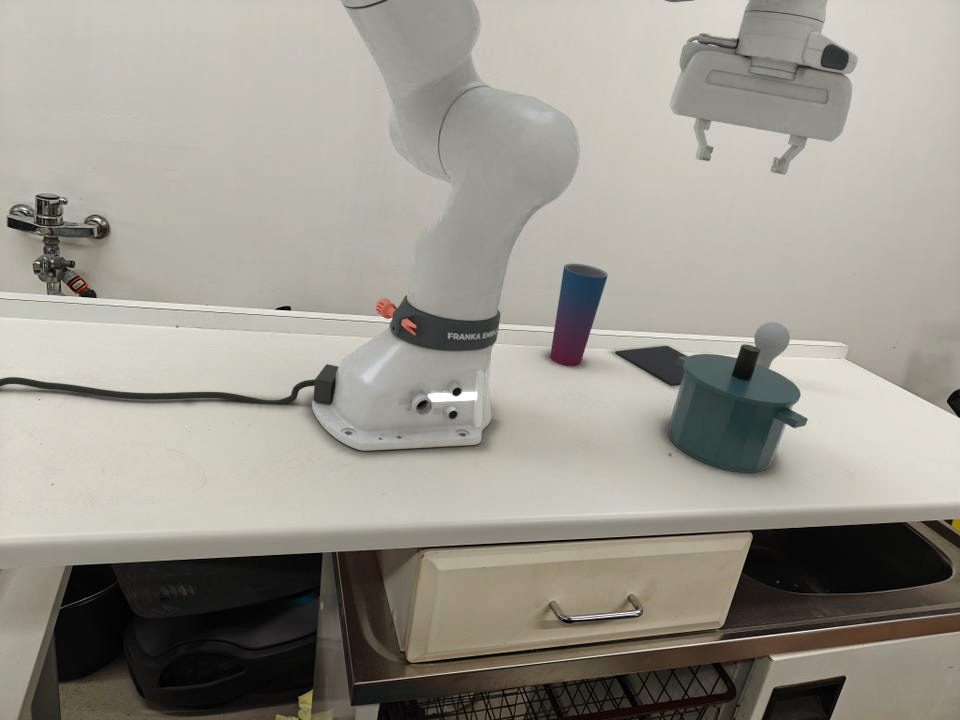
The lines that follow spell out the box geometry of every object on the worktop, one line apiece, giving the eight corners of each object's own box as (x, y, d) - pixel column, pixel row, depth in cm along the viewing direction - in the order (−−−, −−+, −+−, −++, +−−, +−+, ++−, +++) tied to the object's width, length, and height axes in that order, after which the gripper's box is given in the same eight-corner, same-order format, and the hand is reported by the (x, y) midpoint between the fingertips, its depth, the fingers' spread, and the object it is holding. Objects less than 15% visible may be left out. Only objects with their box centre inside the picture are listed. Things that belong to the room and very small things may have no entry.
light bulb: (781, 383, 123) (801, 328, 119) (761, 385, 120) (780, 329, 116) (756, 369, 127) (774, 316, 123) (735, 372, 124) (753, 317, 120)
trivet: (670, 385, 113) (671, 383, 113) (614, 353, 123) (615, 350, 123) (723, 377, 120) (724, 375, 120) (666, 347, 130) (667, 345, 130)
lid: (750, 418, 83) (764, 377, 81) (658, 366, 94) (669, 329, 92) (820, 403, 91) (835, 366, 89) (729, 357, 102) (740, 323, 100)
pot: (744, 492, 85) (770, 422, 82) (633, 418, 99) (650, 355, 96) (810, 473, 93) (836, 407, 89) (697, 407, 107) (716, 348, 103)
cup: (584, 371, 112) (607, 280, 107) (542, 362, 113) (562, 270, 108) (587, 357, 119) (608, 269, 113) (547, 347, 119) (566, 260, 114)
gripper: (692, 28, 81) (661, 154, 86) (872, 60, 81) (830, 184, 86) (681, 31, 86) (652, 149, 92) (849, 61, 86) (811, 177, 92)
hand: (739, 166), depth 89 cm, fingers open, 8 cm apart
